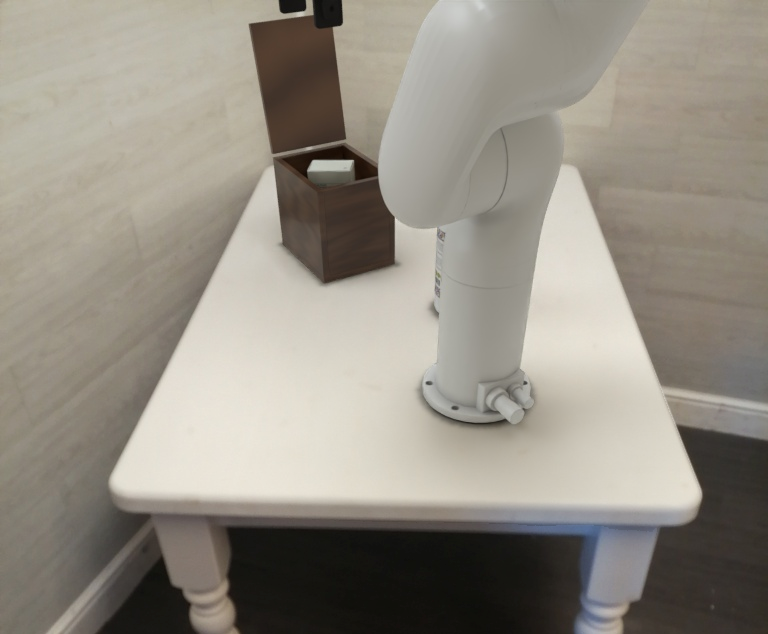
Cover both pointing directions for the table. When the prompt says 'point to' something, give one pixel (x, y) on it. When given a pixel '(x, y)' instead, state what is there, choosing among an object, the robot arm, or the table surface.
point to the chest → (334, 215)
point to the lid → (298, 83)
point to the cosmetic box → (331, 172)
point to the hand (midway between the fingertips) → (310, 19)
